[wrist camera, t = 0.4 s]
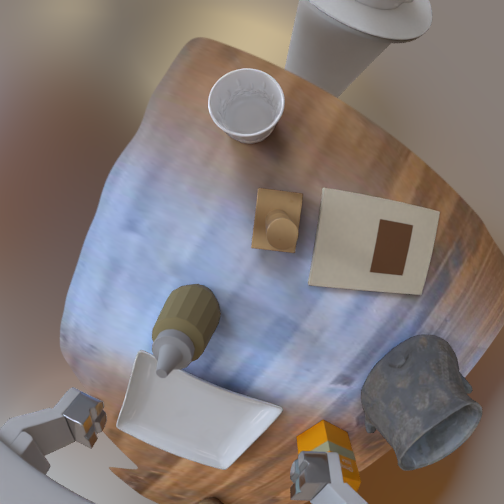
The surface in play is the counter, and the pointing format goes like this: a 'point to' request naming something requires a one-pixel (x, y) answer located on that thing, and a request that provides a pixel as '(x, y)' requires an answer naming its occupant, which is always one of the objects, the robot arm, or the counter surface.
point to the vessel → (420, 401)
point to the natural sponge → (210, 501)
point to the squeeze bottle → (184, 327)
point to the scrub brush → (276, 220)
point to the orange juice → (332, 448)
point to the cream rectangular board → (372, 243)
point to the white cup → (246, 104)
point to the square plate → (191, 415)
